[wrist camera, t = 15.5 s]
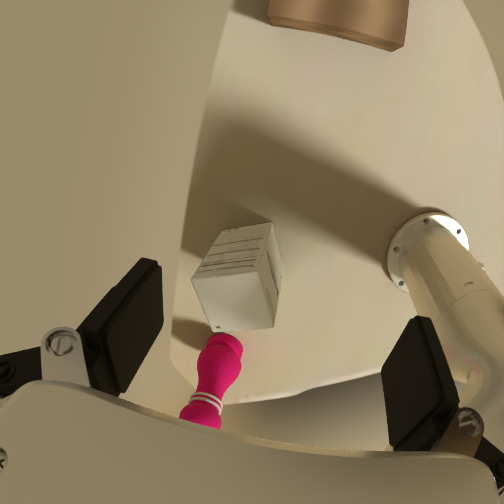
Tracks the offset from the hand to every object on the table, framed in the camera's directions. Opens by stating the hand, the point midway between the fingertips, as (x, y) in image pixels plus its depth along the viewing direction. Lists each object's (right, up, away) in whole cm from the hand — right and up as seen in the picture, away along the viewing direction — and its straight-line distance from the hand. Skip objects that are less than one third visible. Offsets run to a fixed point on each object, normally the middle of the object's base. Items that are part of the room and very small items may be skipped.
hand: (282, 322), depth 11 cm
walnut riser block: (+9, +33, +13) cm, 36 cm away
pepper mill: (-6, -14, +41) cm, 44 cm away
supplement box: (-1, +3, +31) cm, 32 cm away
